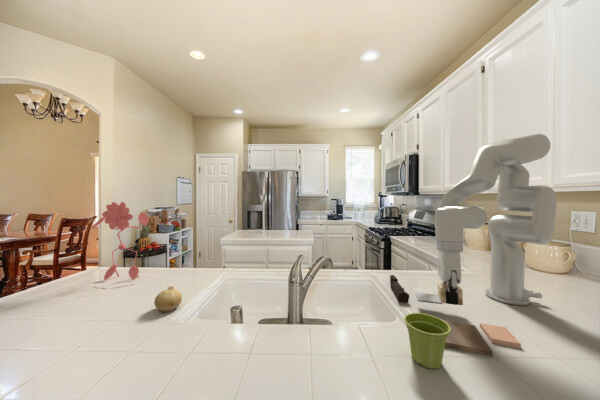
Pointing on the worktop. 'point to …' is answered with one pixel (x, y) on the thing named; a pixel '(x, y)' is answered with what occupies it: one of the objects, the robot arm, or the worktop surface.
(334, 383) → the worktop surface
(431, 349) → the plant pot
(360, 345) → the worktop surface
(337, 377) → the worktop surface
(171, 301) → the onion
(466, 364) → the worktop surface
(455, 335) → the board
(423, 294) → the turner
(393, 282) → the hand tool
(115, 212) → the figurine
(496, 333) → the tile
